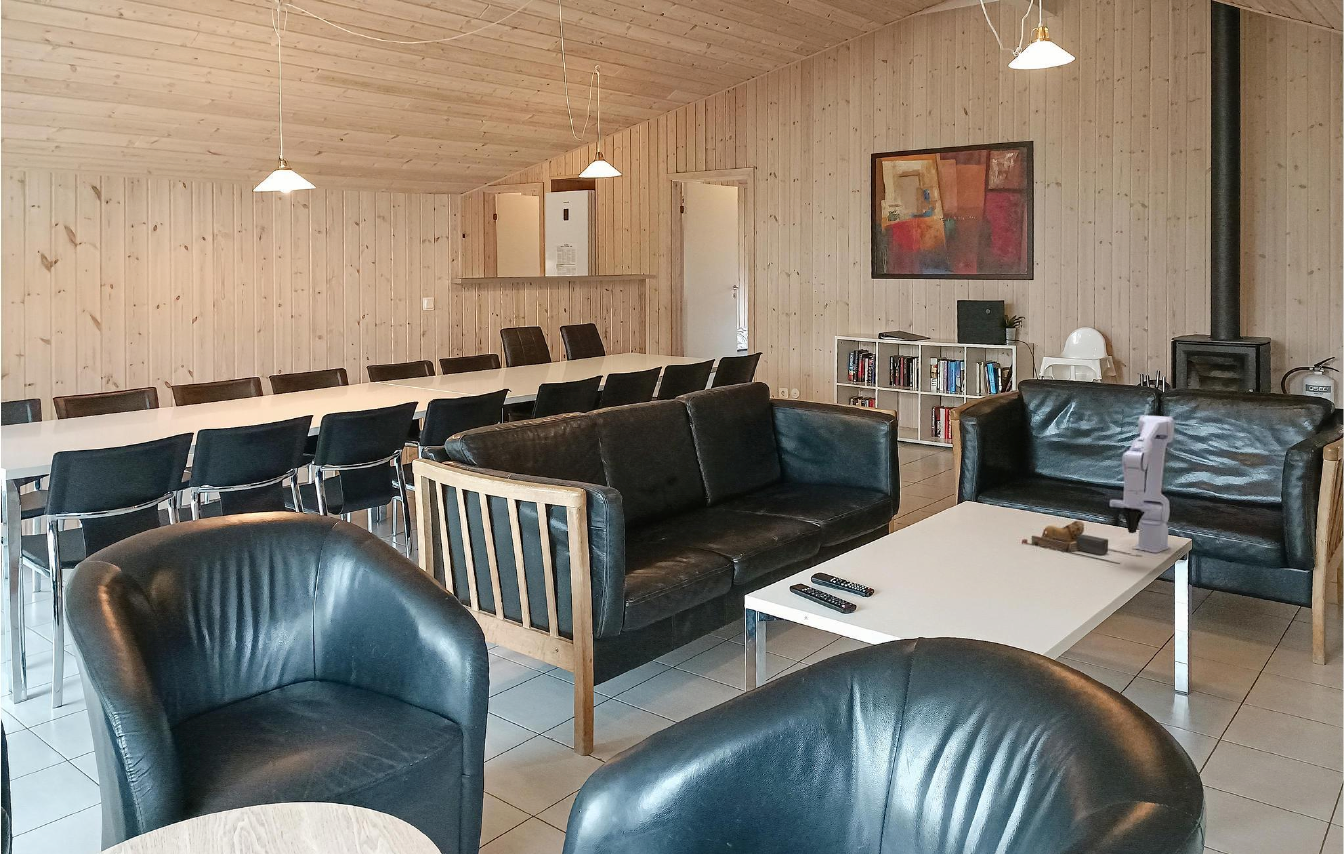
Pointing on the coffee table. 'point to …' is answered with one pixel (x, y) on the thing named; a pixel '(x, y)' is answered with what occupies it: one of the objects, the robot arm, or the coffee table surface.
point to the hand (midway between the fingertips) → (1132, 532)
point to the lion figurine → (1065, 531)
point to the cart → (1075, 544)
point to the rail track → (1076, 553)
